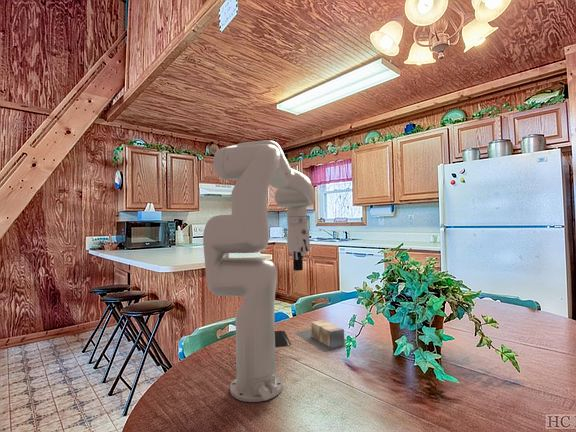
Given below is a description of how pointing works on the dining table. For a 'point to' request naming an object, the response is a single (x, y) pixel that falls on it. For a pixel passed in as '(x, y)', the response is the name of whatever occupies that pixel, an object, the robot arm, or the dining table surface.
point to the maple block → (327, 333)
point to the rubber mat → (316, 341)
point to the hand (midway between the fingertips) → (298, 270)
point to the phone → (281, 339)
